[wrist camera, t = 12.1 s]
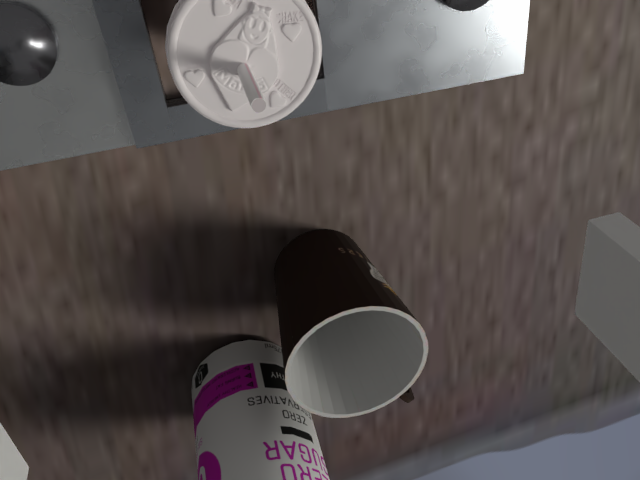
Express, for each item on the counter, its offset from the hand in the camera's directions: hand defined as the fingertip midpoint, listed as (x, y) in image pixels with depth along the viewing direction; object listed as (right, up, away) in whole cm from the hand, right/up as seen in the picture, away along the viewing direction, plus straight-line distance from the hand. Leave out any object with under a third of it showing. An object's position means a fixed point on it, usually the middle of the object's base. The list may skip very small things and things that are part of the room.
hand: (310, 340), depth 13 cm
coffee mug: (0, -1, +31) cm, 31 cm away
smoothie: (-5, +15, +20) cm, 25 cm away
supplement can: (-6, -8, +34) cm, 36 cm away
